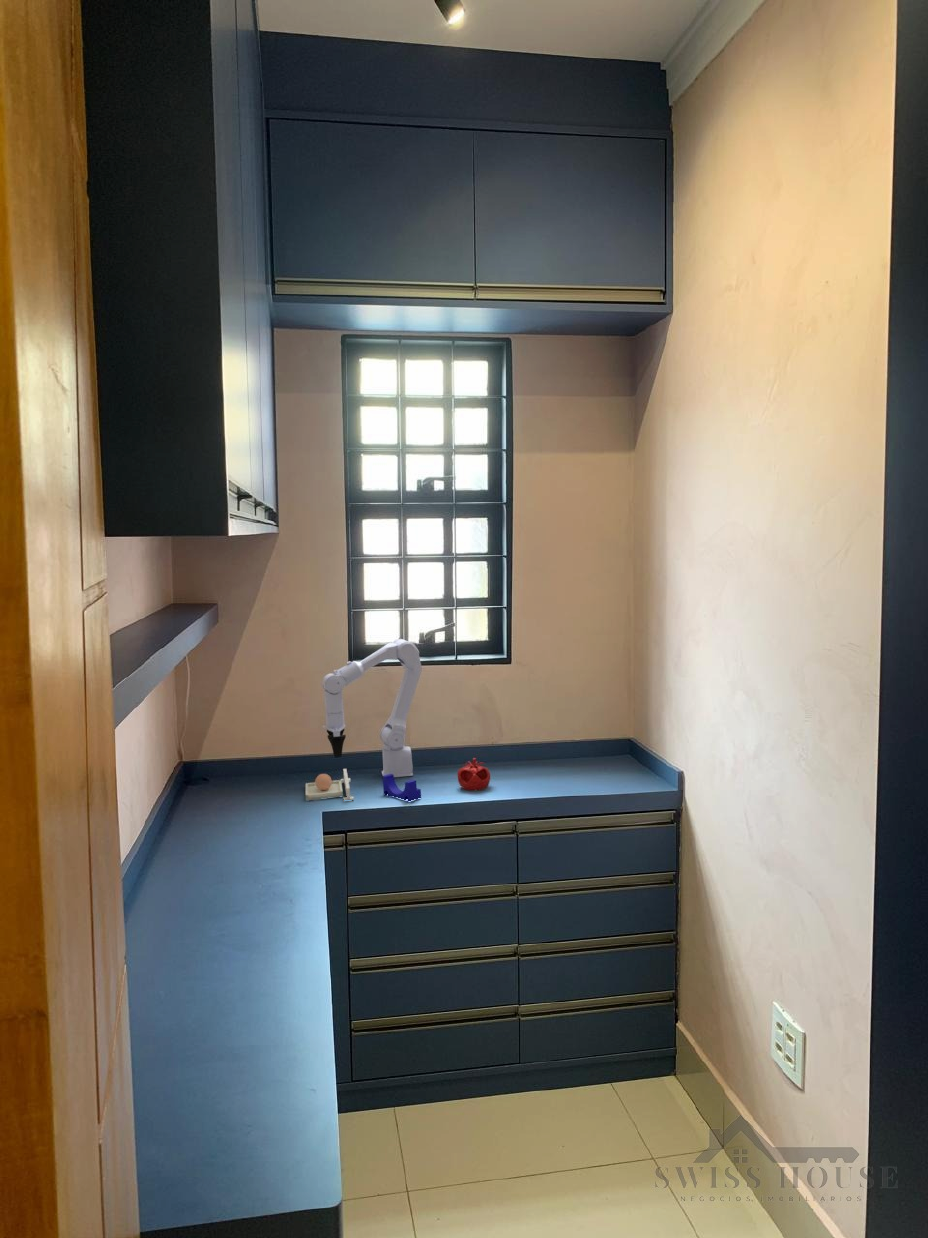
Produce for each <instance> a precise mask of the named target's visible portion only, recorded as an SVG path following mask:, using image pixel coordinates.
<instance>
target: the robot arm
mask: <svg viewBox="0 0 928 1238" xmlns="http://www.w3.org/2000/svg"><path fill="white" fill-rule="evenodd" d="M387 660H394V661H395V660H398V661H399V663H400V664H401V666H402V667H403V669H404V672H403V675H402V678H401V682H400V686H399V688H398V690H397V691H398V692H397V694H396V695H397V696H396V698H395V701H394V704H393V707H392V711H391V714H390V716H389V718H388V719H387V720H386V722H385V724H384V726H383V727H382V728H381V729H380V732H379V738H380V740H381V742H382V743H383V744H382V746H381V750H382V766H383V770H381V775H382V777H383V776H384V775H388V774H393V775H394V778H403V777H404V778H405V777H411V776H414V773H413V771H414V770H413V767H414V765H413V759H412V758H413V756H412V755H413V754H412V748H411V746H405V744H406V730H407V718H408V715H409V712H410V709H411V705H412V702H413V699H414V696H415V693H416V689H417V687H418V683H419V680H420V677H421V674H422V669H423V667H422V662H421V657H420V651H419V649H418V647H417V646H416V644H414V642H411V641H408V640H406V639H403V638H398V639H395V640H394V641H393V642H392V641H391V642H388V643H387V644H385V645H383V646H382V647H380V648H379V649H377V650H376V651H375V652H373V653H371V654H370V655H368V656H366V657H365V658H364V659H362V660H361V661H355V660H353V661H350V660H349V661H347V662H346V665H344V666H342V667H340V668H339V669H334V670H333V673H328V674H326V675H324V677H323V678H322V681H321V687H322V689H323V690H324V706H325V707H324V709H325V710H324V711H325V723H326V725H322V730H326V733H327V734H328V735H327V739H328V741H329V743H330V746H331V749H332V753H333V757H334V758H342V755H343V747H344V741H345V739H346V734H344V731H345V728H346V723H345V711H344V697H343V690H344V688H345V687H347V686H349V685H350V684H352V683H354V682H356V681H357V680H359V679H361V678H363V677H364V674H365V671H368V670H369V669H371V668H373V667H375V666H377V665H378V664H381V663H382V662H384V661H387Z"/></svg>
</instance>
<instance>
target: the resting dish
mask: <svg viewBox="0 0 928 1238" xmlns="http://www.w3.org/2000/svg"><path fill="white" fill-rule="evenodd" d="M340 796H343V797H344V792H343V783H341V779H338V780H336V779H335V780H332V784H331V786H330V787H329V788H328V789H327V790H320V789H318V788H317V787H316V784H315V781H314V782H306V783H305V802H309V801H308V800H314V799H321V798H328V797H340ZM314 801H315V800H314Z"/></svg>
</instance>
